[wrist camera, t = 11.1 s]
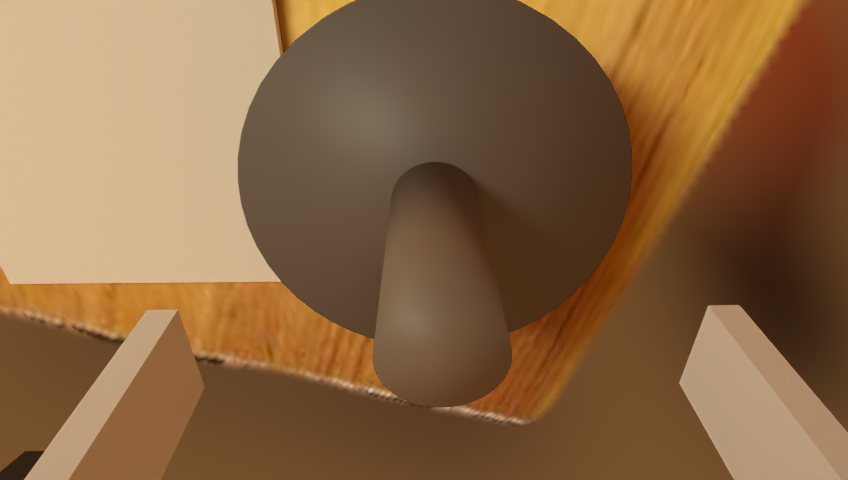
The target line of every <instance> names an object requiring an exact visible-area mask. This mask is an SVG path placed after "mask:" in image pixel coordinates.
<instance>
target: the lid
mask: <svg viewBox="0 0 848 480" xmlns="http://www.w3.org/2000/svg"><path fill="white" fill-rule="evenodd" d="M631 180H632V149H631V142H630V135H629V129H628V125H627V122H626V119H625V115H624V112H623V109H622V105H621V103H620V101H619V99H618V97H617V95H616V92H615V90H614V88H613V86H612V84H611V82H610V80H609V79H608V77H607V76H606V74H605V73H604V71H603V70H602V68H601V67H600V66H599V64H598V63H597V61H596V60H595V58H594V57H593V56H592V55H591V54H590V53H589V52H588V51H587V50H586V49H585V48H584V47H583V45H582V44H581V43H580V42H579V41H578V40H577V39H576V38H575V37H574V36H572V35H571V34H570V33H568V32H567V31H566V30H565V29H563V28H562V27H561V26H559V25H558V24H557V23H556V22H554V21H553V20H552V19H550V18H548V17H547V16H545V15H543V14H542V13H540V12H538V11H536V10H534V9H533V8H531V7H529V6H527V5H525V4H524V3H522V2H520V1H518V0H356V1H353V2H351V3H348V4H346V5H345V6H343V7H341V8H340V9H338V10H336V11H334V12H333V13H331V14H329V15H327V16H326V17H324V18H323V19H321V20H320V21H319V22H318V23H316V24H315V25H314V26H313V27H311V28H310V29H309V30H308V31H306V32H305V33H304V34H303V35H301V36H300V37H299V38H298V39H296V40H295V41H294V42H293V43H292V44H291V45H290V47H289V48H288V49H287V50H286V51H285V52H284V53H283V54H282V55H281V56H280V57H279V58H278V59H277V61H276V62H275V63H274V65H273V66H272V68H271V69H270V70H269V72H268V73H267V75H266V76H265V78H264V79H263V81H262V82H261V84H260V86H259V88H258V90H257V92H256V94H255V96H254V98H253V100H252V102H251V104H250V107H249V109H248V112H247V116H246V119H245V122H244V125H243V129H242V132H241V138H240V145H239V152H238V186H239V193H240V199H241V205H242V209H243V212H244V215H245V219H246V222H247V226H248V228H249V230H250V233H251V235H252V237H253V239H254V241H255V244H256V246H257V248H258V249H259V251H260V253H261V254H262V256H263V258H264V259H265V261H266V262H267V264H268V266H269V267H270V268H271V269H272V271H273V272H274V273H275V274H276V276H277V277H278V278H279V279H280V281H281V282H282V283H283V284H284V285H285V286H286V287H287V288H288V289H289V290H290V291H291V292H292V293H293V294H294V295H295V296H296V297H297V298H298V299H300V300H301V301H302V302H304V303H305V304H306V305H307V306H309V307H310V308H311V309H313V310H314V311H315V312H317V313H319V314H320V315H322V316H323V317H325V318H327V319H328V320H330V321H332V322H333V323H336V324H338V325H340V326H342V327H344V328H346V329H348V330H350V331H353V332H355V333H358V334H361V335H364V336H367V337H370V338H373V339H374V347H373V365H374V369H375V372H376V374H377V376H378V378H379V379H380V381H381V382H382V383H383V385H384V386H385V387H386V388H387V389H388V390H390V391H391V392H392V393H394V394H395V395H397V396H398V397H400V398H402V399H404V400H406V401H409V402H412V403H415V404H418V405H423V406H429V407H452V406H459V405H463V404H467V403H470V402H473V401H476V400H478V399H480V398H482V397H484V396H485V395H487V394H489V393H490V392H491V391H493V390H494V389H495V388H496V387H497V386H498V385H499V384H500V383H501V382H502V381H503V380H504V378H505V377H506V375H507V373H508V371H509V368H510V366H511V361H512V349H511V344H510V339H509V334H508V333H509V332H512V331H515V330H517V329H519V328H521V327H523V326H526V325H528V324H530V323H532V322H534V321H536V320H537V319H539V318H541V317H542V316H544V315H545V314H547V313H549V312H550V311H552V310H553V309H555V308H556V307H557V306H559V305H560V304H561V303H562V302H564V301H565V300H566V299H567V298H569V297H570V296H571V295H572V294H573V293H574V292H575V291H576V290H577V289H578V288H579V287H580V286H581V285H582V284H583V283H584V282H585V281H586V280H587V279H588V278H589V277H590V275H591V274H592V273H593V272H594V270H595V269H596V268H597V267H598V265H599V264H600V263H601V261H602V260H603V258H604V256H605V255H606V253H607V252H608V250H609V248H610V247H611V245H612V243H613V241H614V239H615V237H616V234H617V232H618V230H619V228H620V226H621V223H622V220H623V217H624V214H625V210H626V207H627V204H628V200H629V193H630V186H631Z"/></svg>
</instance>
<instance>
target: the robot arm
mask: <svg viewBox="0 0 848 480" xmlns="http://www.w3.org/2000/svg"><path fill="white" fill-rule="evenodd" d="M679 384H680V386H681V387H682V389H683V391H684V393H685V394H686V396H687V398H688V399H689V401H690V403H691V405H692V407H693V408H694V410H695V412H696V414H697V415H698V417H699V419H700V421H701V422H702V424H703V426H704V428H705V430H706V431H707V433H708V435H709V437H710V438H711V440H712V442H713V444H714V445H715V447H716V449H717V451H718V452H719V454H720V456H721V457H722V459H723V461H724V463H725V465H726V466H727V468H728V470H729V472H730V473H731V475H732V477H733V479H734V480H848V432H847V431H846V430H845V429H844V428H843V427H842V425H841V424H840V423H839V422H838V421H837V420H836V418H835V417H834V416H833V415H832V414H831V412H830V411H829V410H828V409H827V408H826V407H825V406H824V404H823V403H822V402H821V401H820V399H819V398H818V397H817V396H816V395H815V394H814V393H813V391H812V390H811V389H810V388H809V387H808V386H807V384H806V383H805V382H804V381H803V379H802V378H801V377H800V376H799V375H798V374H797V372H796V371H795V370H794V369H793V368H792V367H791V365H790V364H789V363H788V362H787V361H786V359H785V358H784V357H783V356H782V355H781V354H780V352H779V351H778V350H777V349H776V348H775V346H774V345H773V344H772V343H771V342H770V341H769V339H768V338H767V337H766V336H765V335H764V334H763V332H762V331H761V330H760V329H759V328H758V327H757V325H756V324H755V323H754V322H753V321H752V319H751V318H750V317H749V316H748V315H747V314H746V312H745V311H744V310H743V309H742V308H741V307H740V305H709V306H708V308H707V310H706V313H705V316H704V319H703V321H702V324H701V326H700V329H699V332H698V334H697V337H696V340H695V342H694V345H693V348H692V350H691V353H690V355H689V358H688V361H687V363H686V366H685V369H684V372H683V374H682V377H681V379H680V382H679ZM203 389H204V384H203V381H202V378H201V375H200V373H199V369H198V367H197V364H196V361H195V358H194V355H193V352H192V349H191V346H190V343H189V341H188V338H187V335H186V332H185V329H184V326H183V323H182V320H181V317H180V315H179V312H178V310H147V311H146V312H145V313H144V315H143V316H142V318H141V319H140V320H139V322H138V323H137V324H136V326H135V327H134V329H133V330H132V331H131V333H130V334H129V335H128V337H127V338H126V340H125V341H124V342H123V344H122V345H121V347H120V348H119V349H118V351H117V352H116V353H115V355H114V356H113V358H112V359H111V360H110V362H109V363H108V364H107V366H106V367H105V369H104V370H103V371H102V373H101V374H100V376H99V377H98V378H97V380H96V381H95V383H94V384H93V386H92V387H91V388H90V389H89V391H88V392H87V394H86V395H85V396H84V398H83V399H82V401H81V402H80V403H79V405H78V406H77V407H76V409H75V410H74V411H73V413H72V414H71V416H70V417H69V418H68V420H67V421H66V422H65V424H64V425H63V427H62V428H61V430H60V431H59V432H58V434H57V435H56V436H55V438H54V439H53V441H52V442H51V443H50V445H49V446H48V447H47V449H46V450H45V451H25V452H24V453H23V454H21V455H20V456H19V457H18V458H17V459H15V460H14V461H13V462H12V463H10V464H9V465H8V466H7V467H6V468H4V469H3V470H2V471H1V472H0V480H160V479H161V477H162V476H163V473H164V471H165V469H166V467H167V465H168V463H169V461H170V459H171V457H172V455H173V452H174V450H175V448H176V446H177V444H178V442H179V440H180V438H181V436H182V433H183V431H184V429H185V427H186V425H187V423H188V421H189V419H190V417H191V415H192V412H193V410H194V408H195V406H196V404H197V402H198V400H199V398H200V396H201V394H202V391H203Z"/></svg>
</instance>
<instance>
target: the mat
mask: <svg viewBox="0 0 848 480" xmlns="http://www.w3.org/2000/svg"><path fill="white" fill-rule="evenodd" d="M282 54H283V48H282V41H281V34H280V28H279V21H278V14H277V7H276V0H0V266H1V268H2V270H3V271H4V273H5V275H6V277H7V279H8V281H9V283H10V284H56V283H173V282H281V281H280V279H279V278H278V277H277V276H276V274H275V273H274V272H273V271H272V269H271V268H270V267H269V266H268V264H267V262H266V261H265V259H264V258H263V256H262V254H261V253H260V251H259V249H258V248H257V246H256V244H255V241H254V239H253V237H252V235H251V233H250V230H249V228H248V226H247V222H246V219H245V215H244V212H243V209H242V205H241V199H240V193H239V186H238V152H239V145H240V138H241V132H242V129H243V125H244V122H245V119H246V116H247V112H248V109H249V107H250V104H251V102H252V100H253V98H254V96H255V94H256V92H257V90H258V88H259V86H260V84H261V82H262V81H263V79H264V78H265V76H266V75H267V73H268V72H269V70H270V69H271V68H272V66H273V65H274V63H275V62H276V61H277V59H278V58H279V57H280V56H281V55H282Z"/></svg>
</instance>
